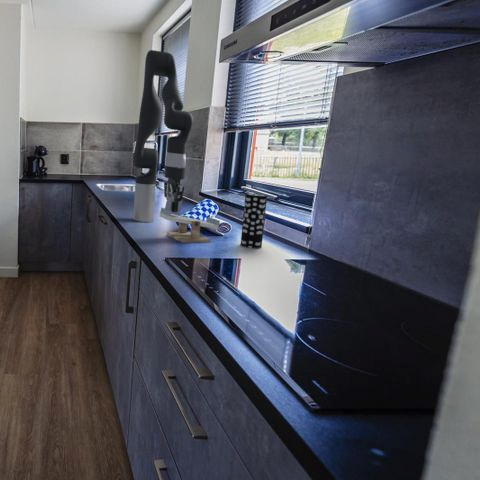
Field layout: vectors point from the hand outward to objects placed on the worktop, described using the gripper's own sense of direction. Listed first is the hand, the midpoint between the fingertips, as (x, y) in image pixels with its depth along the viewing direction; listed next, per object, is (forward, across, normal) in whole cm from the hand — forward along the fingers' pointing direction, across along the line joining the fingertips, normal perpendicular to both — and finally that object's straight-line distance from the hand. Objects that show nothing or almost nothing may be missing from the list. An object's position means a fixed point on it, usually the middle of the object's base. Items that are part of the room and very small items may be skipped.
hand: (172, 210), depth 164 cm
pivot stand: (+11, 0, +8) cm, 13 cm away
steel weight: (+1, 0, 0) cm, 1 cm away
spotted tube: (+11, +16, +28) cm, 33 cm away
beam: (+4, 0, +8) cm, 9 cm away
